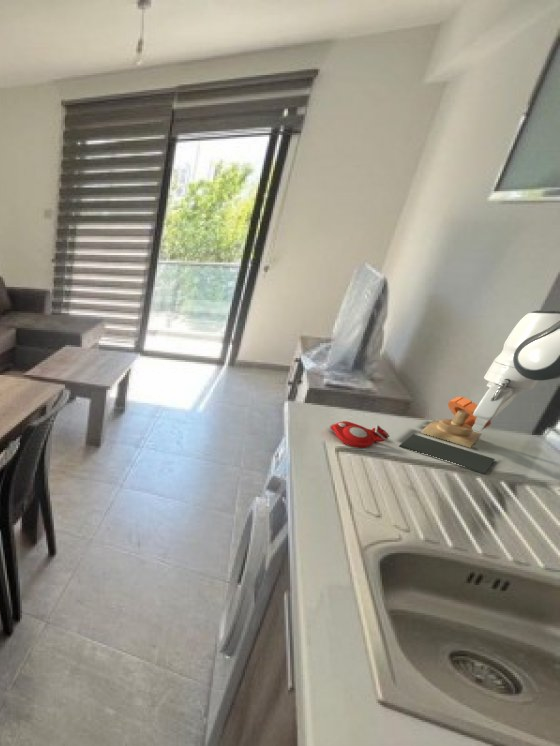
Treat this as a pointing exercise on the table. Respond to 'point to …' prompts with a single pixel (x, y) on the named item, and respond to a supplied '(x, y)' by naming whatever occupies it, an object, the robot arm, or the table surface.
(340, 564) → the table surface
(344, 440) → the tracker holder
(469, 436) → the stand
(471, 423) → the ring
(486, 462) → the mat
